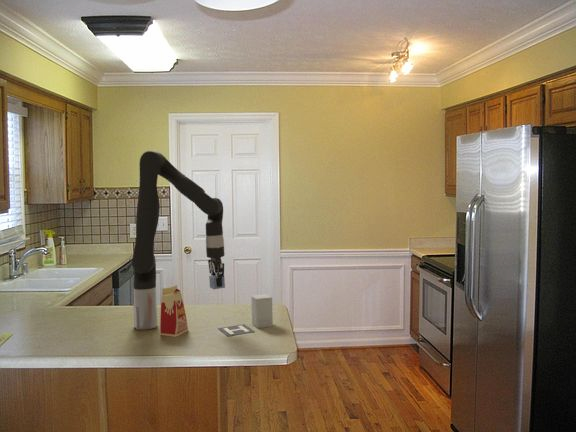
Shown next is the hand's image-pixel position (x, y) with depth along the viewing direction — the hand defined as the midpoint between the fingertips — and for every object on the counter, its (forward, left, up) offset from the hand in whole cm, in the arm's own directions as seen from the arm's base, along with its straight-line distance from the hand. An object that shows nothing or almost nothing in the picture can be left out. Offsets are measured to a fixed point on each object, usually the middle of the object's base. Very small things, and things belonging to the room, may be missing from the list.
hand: (217, 285), depth 220 cm
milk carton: (-19, +2, -18) cm, 27 cm away
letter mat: (+5, -8, -18) cm, 20 cm away
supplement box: (+17, -7, -18) cm, 26 cm away
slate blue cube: (0, 0, -1) cm, 1 cm away
